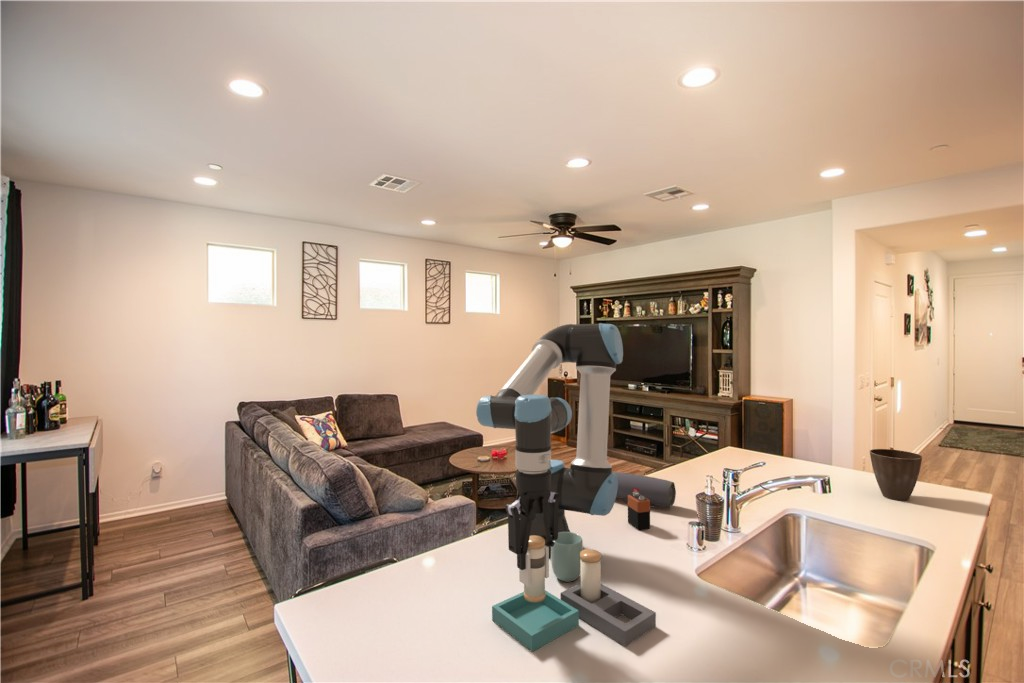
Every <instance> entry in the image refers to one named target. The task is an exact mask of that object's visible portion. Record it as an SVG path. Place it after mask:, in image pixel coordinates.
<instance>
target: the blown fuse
mask: <svg viewBox="0 0 1024 683" xmlns="http://www.w3.org/2000/svg"><path fill="white" fill-rule="evenodd" d="M527 552H528V553H530V570H531V585H530V586H526V585H525V584H523V592H524V598H525V600H527V601H529V602H541V601H543V600H544V599H545V597H546V594H545V590H546V578H545V539H544V538H543V537H541V536H536V535H532V536H530V537H529V544H528V550H527Z"/></svg>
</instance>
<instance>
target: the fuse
mask: <svg viewBox="0 0 1024 683" xmlns="http://www.w3.org/2000/svg"><path fill="white" fill-rule="evenodd" d="M601 560H602V554H601V552H600V551H599V550H596V549H594V548H586V549H583V550H582V551H581V552H580V562H581V574H580V583H581V598H582V599H584V600H586V601H588V602H589V603H591V604H592V603H594V602H596V601H598V600H600V599H601V584H602V583H601V578H602V577H601V574H602V572H601Z"/></svg>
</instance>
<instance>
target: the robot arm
mask: <svg viewBox="0 0 1024 683" xmlns="http://www.w3.org/2000/svg"><path fill="white" fill-rule="evenodd" d="M620 332H621V331H620V330H619V329H618V327H617V326H616V325H614V324H613V323H612V324H611V323H602V322H599V323H581V324H580V323H578V324H577V323H576V324H572V323H569V324H563V325H559V326H557V327H555V328H553V329H551V330H549V331H548V332H546V333H544V334H543V335H542V336H541V337H540V338H539V339H537V340H536V341H535V343H534V344H533V345H532V348H531V353H530V354H529V356H528V357H527V358H526V359H525V360H524V361H523V363H522V364H521V365H520V366H519V367H518V369H517V370H516V371H515V372H514V373H513V374H512V376H511V377H510V378H509V379H508V380H507V382H506V383H505V384H504V385H502V387H501V389H500V390H499V391H498V392H497V393H496V395H484V396H482V397H481V398H479V399H478V402H477V406H476V410H475V413H476V418H477V421H478V423H479V424H480V426H483V427H488V428H493V429H506V430H514V432H515V456H514V457H515V459H514V460H515V468H516V470H515V487H516V490H517V494H516V496H515V501H514V502H512V503H506V505H505V511H506V513H507V527H508V528H507V533H508V534H507V535H508V550H509V551H510V552H512V553H514V554H515V555H516V567H517V568H518V570H519V571H518V572H519V578H518V579H519V582H520V583H522V584H523V585H524V584H525V585H526V586H530V585H531V570H530V553H528V552H527V550H528V544H529V537H530V536H532V535H536V536H541V537H543V538H544V539H545V579H548V578H549V577H550V560H551V547H553V546H554V544H555V543H554V542H553V540H557V539H558V533H559V532H571V530H570V528H569V524H568V522H567V517H566V511H568V512H569V511H570V512H575V513H582V514H588V515H590V516H601V517H603V516H604V517H605V516H607V515H609V514H610V513H611V511H612V510H613V508H614V505H615V503H616V498H617V497H616V495H617V489H618V477H617V475H616V474H614V473H612V472H613V466H612V465H611V463H610V462H609V461H608V457H607V456H608V439H609V438H608V437H609V416H610V415H609V414H610V393H611V392H610V391H611V376H612V375H613V374H614V372H616V371H617V365H619V364H622V362H623V360H624V359H623V357H624V346H623V340H622V336H621V333H620ZM564 363H566V364H567V363H573V364H574V363H575V369H576V370H577V371H578V372H579V374H580V378H579V379H580V384H579V403H578V420H577V422H578V423H577V439H576V454H575V456H576V457H575V458H574V459H572V461H571V462H570V466H569V467H570V468H569V467H565V466H566V464H565V462H564V461H563V460H560V459H552V435H553V434H555V433H557V432H559V431H562V430H564V428H565V427H567V426H568V425H569V424H570V423H571V420H572V418H573V417H572V415H573V411H572V408H571V405H570V404H569V403H568V401H567V400H565V399H563V398H561V397H548V395H545V394H536V392H537V391H538V389H539V388H540V387H541V385H542V384H543V383H544V381H545V380H546V378H547V377H548V375H549V374H550V372H551V371H552V370H553V369H556V368H558V367H560V365H561V364H564Z"/></svg>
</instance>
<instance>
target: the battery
mask: <svg viewBox="0 0 1024 683" xmlns="http://www.w3.org/2000/svg"><path fill="white" fill-rule="evenodd" d="M627 523H628V524H629V525H630V526H632V527H634V528H635V529H636V530H637V531H643V530H644V531H645V530H649V529H651V507H650V500H648V499H647V498H645V497H644V496H642V495H640V494H639V493H638V492H633V494H632V495H628V502H627Z"/></svg>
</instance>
